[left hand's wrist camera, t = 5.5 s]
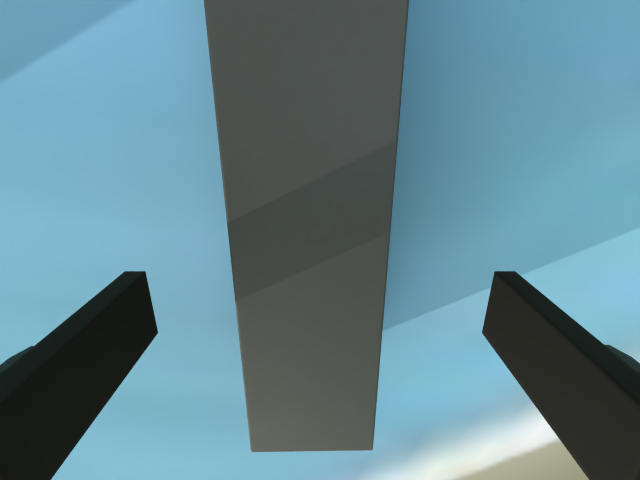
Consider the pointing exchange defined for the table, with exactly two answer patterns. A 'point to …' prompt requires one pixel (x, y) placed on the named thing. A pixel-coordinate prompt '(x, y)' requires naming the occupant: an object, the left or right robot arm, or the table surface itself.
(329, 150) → the bar
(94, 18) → the table surface
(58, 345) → the left robot arm
